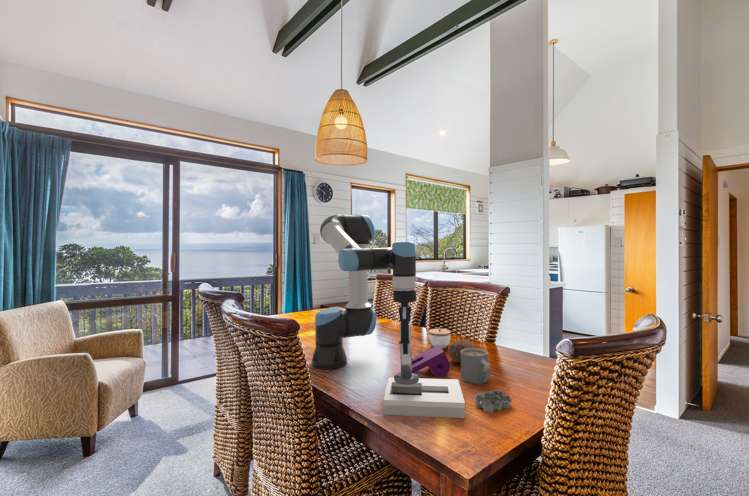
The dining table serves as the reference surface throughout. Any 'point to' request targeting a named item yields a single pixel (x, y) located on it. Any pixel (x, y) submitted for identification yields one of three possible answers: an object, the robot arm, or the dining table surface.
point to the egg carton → (492, 400)
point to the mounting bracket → (432, 361)
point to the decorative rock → (458, 349)
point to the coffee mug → (474, 365)
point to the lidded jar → (439, 337)
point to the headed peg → (406, 368)
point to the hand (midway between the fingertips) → (406, 361)
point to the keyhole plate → (425, 398)
